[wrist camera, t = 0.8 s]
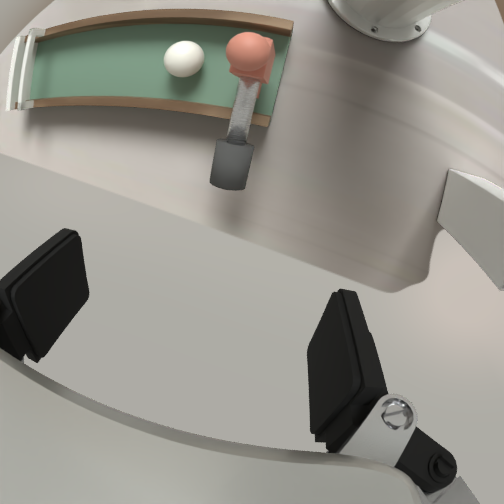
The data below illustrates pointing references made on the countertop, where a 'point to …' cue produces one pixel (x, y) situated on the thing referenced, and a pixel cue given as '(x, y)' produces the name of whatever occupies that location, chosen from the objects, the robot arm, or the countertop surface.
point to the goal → (22, 71)
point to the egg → (184, 59)
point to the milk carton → (476, 220)
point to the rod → (242, 108)
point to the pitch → (152, 61)
